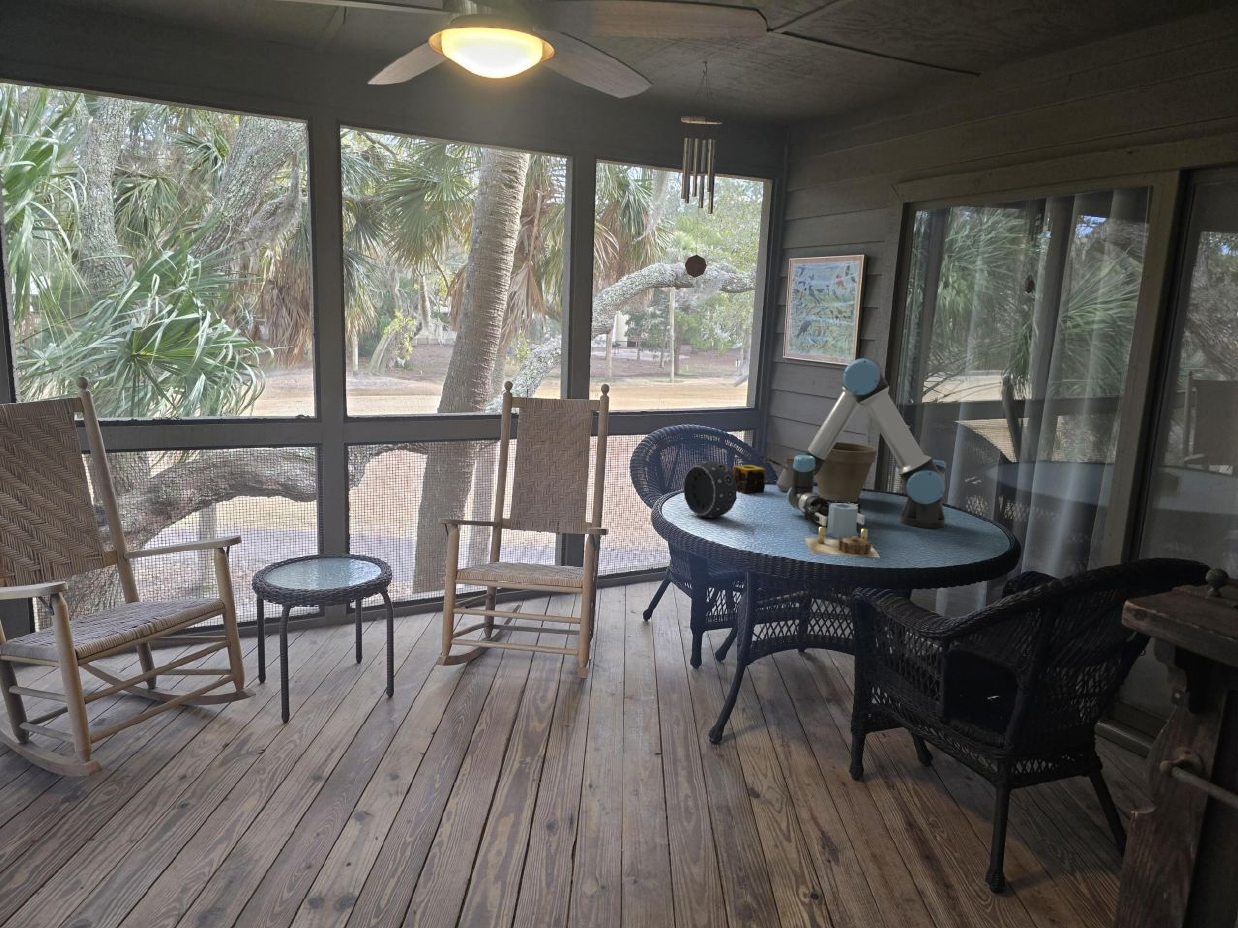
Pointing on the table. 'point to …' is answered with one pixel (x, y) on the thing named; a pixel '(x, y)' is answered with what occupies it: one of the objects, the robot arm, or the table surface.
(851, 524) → the blue gear
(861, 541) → the fixed gear
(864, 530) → the far peg
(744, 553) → the table surface
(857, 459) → the plant pot
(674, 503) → the table surface
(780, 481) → the coffee pot
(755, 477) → the candle
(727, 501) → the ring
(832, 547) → the gear board
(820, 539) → the peg
